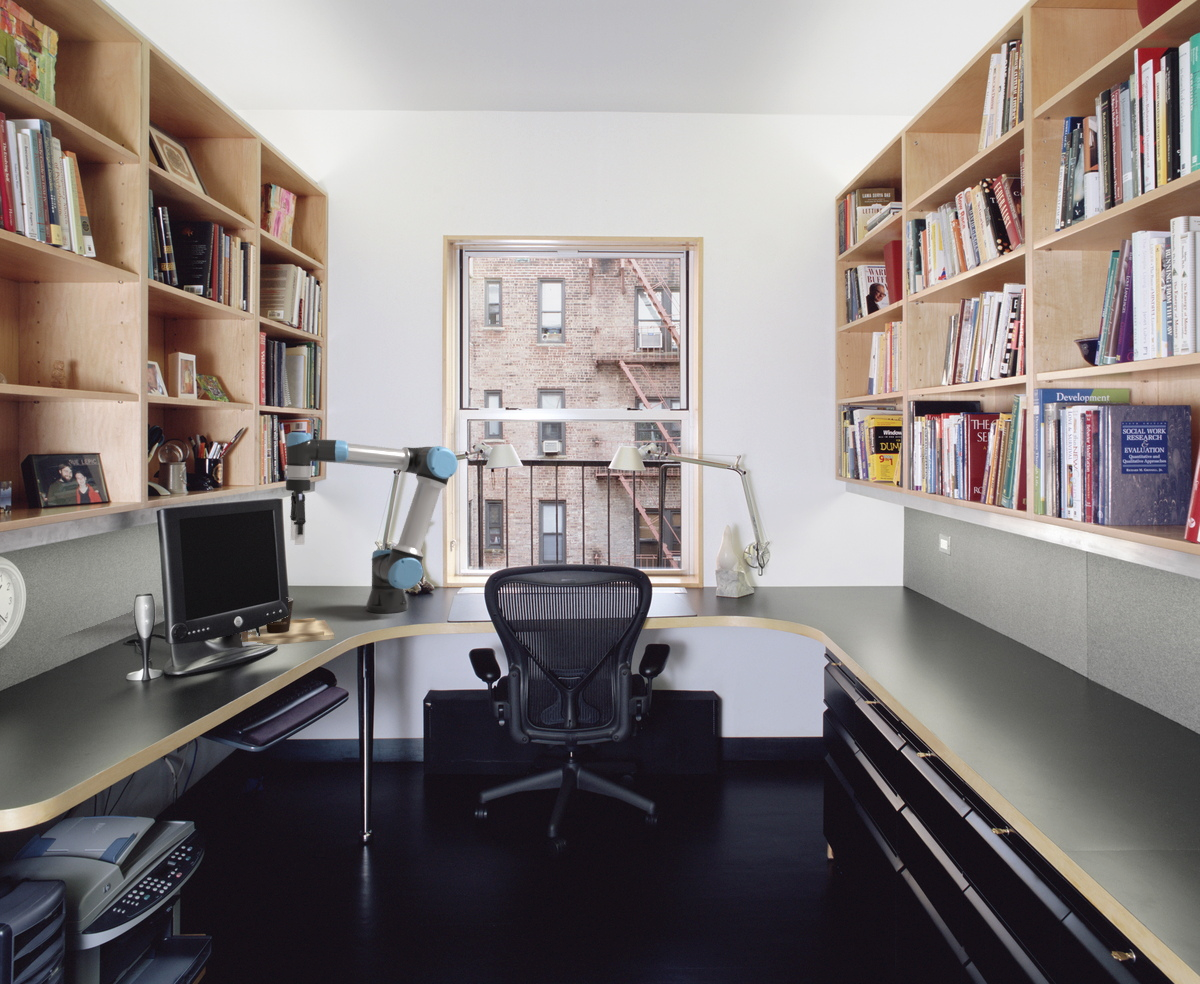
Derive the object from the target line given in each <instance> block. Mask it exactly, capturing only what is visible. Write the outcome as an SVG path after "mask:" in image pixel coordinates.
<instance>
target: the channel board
mask: <svg viewBox="0 0 1200 984" xmlns="http://www.w3.org/2000/svg"><path fill="white" fill-rule="evenodd" d="M259 630H260V636H259V637H257V636H256V631H252V632H248V631H246V632H242V633H241V637H242V642H257V643H263V644H275V645H283V644H284V645H285V644H295V643H305V642H317V641H318V642H319V641H327V640H335V633H334V632H333V630H332V629H331V627H330V626H329V625H328V624H327V621H326V620H325V619H320V620H316V617H313V618H312V617H311V618H298V619H291V620H290V627H289V631H288V632H285V633H268V632H267V626H263V627H261V628H260V629H259ZM250 634H251V636H250V637H248V635H250Z"/></svg>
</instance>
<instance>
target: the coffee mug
mask: <svg viewBox="0 0 1200 984" xmlns="http://www.w3.org/2000/svg"><path fill="white" fill-rule="evenodd" d="M287 598H288V600H289V601H288V603H289V609H290V614H289V616H288V617H286V618H283V619H281V620H277V621H275V622H273V623H269V624H267V625H266V626H267V632H268V633H285V632H288V631H289V627H290V620H292V619H291V618H292V612H293V605H294V599H293V598H292V597H287Z"/></svg>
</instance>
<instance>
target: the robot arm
mask: <svg viewBox="0 0 1200 984" xmlns="http://www.w3.org/2000/svg"><path fill="white" fill-rule="evenodd" d="M285 444H286V456H285V457H286V459H285V460H286V462H285V463H286V467H285V468H284V472H285V476H286V477H285V478H287V479H286V480H285V490H286V491H289V492H291V497H290V500H291V501H290V502H291V504H290V505H291V506H290V515H289V517H290V541H294V545H305V533H306V532H305V529H306V527H305V525H306V522H307V521H306V520H307V519H306V504H305V503H306V502H305V501H306V495H305V494H304V493H303V492H306V491H308V492H309V491H311V480H310V478H311V476H312V473H311V472H312V466H311V464H312V462H318V463H320V462H321V463H322V462H323V463H334V464H335V463H337V464H345V465H354V466H355V465H356V466H365V467H373V468H374V467H376V468H385V469H386V468H387V469H393V470H394V469H395V470H400V472H402V473H409V474H415V475H416V476H415V478H416V480H417V485H416V488H415V491H414V495H413V498H412V501H411V504H410V506H409V510H408V513H407V516H406V519H405V522H404V525H403V528H402V530H401V534H400V537H399V540H398V543H397V544H396V545H394V546H392V548H391V549H379V550H378V549H377V550H374V551H373V552H372V557H371V590H370V594H369V597H368V599H367V602H366V611H367V612H370V613H377V614H390V613H391V614H392V613H393V614H394V613H400V612H405V611H407V610H408V608H409V606H408V604H409V602H408V600H407V596H406V594H405V590H408V589H412V588H414V587H415V586H417V585H418V584H419V583H420V581H421V579H422V577H423V575H424V569H423V566H422V563H423V562H422V561H423V560H424V554H423V552H422V548H423V545H424V542H425V539H426V536H427V533H428V529H429V526H430V524H431V520H432V517H433V515H434V511H435V509H436V506H437V505H436V504H437V502H438V499H439V496H440V493H441V490H442V489H443V488H445V487H447V485H448V482H449V479H450V478H451V477H452V476H454V475H455V473H456V472H457V470H458V466H459V465H458V458H457V457H456V455H455V453H454V451H452V450H451V449H450V448H447V447H446V446H440V445H437V446H420V447H408V446H404V447H403V448H394V447H393V448H392V447H385V446H384V447H383V446H375V445H366V444H356V443H348V442H347V441H345V440H340V439H315V438H312V434H311V433H310V432H301V431H300V432H295V431H293V432H289V433H287V436H286V443H285Z"/></svg>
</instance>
